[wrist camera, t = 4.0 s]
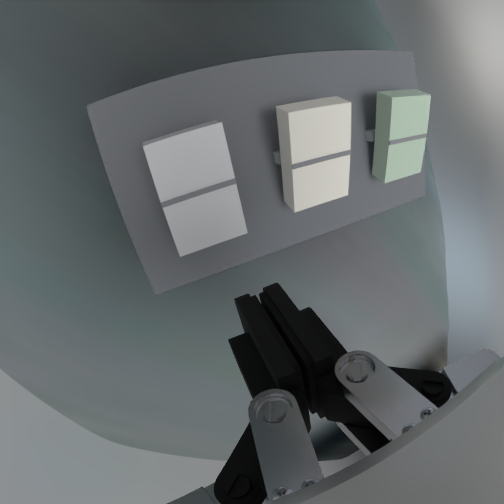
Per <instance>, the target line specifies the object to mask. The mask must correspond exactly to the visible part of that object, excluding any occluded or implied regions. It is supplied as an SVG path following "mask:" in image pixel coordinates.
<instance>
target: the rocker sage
mask: <svg viewBox="0 0 504 504" xmlns="http://www.w3.org/2000/svg"><path fill="white" fill-rule="evenodd" d="M430 99H431V95H430V94H427V93H425V92H422V91H419V90H417V89H407V90H391V91H378V92H377V103H376V126H375V142H374V156H373V167H372V175H374V176H375V177H376V178H378V179H379V180H380V181H382V182H383V183H388V182H391V181H394V180H397V179H400V178H404V177H407V176H410V175H413V174H416V173H420V172H421V167H422V161H423V155H424V149H425V142H426V137H427V127H428V119H429V109H430Z"/></svg>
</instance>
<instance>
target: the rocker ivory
mask: <svg viewBox="0 0 504 504" xmlns="http://www.w3.org/2000/svg"><path fill="white" fill-rule="evenodd" d="M276 113H277V123H278V134H279V145H280V156H281V168H282V180H283V193H284V201H285V202H286V204H287V205H288V206H289V207H290V208H291V209H292V210H293V211H294V213H295V212H298V211H301V210H304V209H307V208H310V207H313V206H316V205H319V204H322V203H325V202H328V201H331V200H335V199H338V198H341V197H344V196H347V195H348V189H349V172H350V154H351V150H350V149H351V102H350V101H347V100H345V99H342V98H340V97H337V96H334V97H326V98H320V99H313V100H307V101H301V102H295V103H290V104H285V105H279V106H276Z"/></svg>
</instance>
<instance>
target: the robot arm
mask: <svg viewBox="0 0 504 504" xmlns="http://www.w3.org/2000/svg"><path fill="white" fill-rule="evenodd" d="M259 296H260V301H261V303H260V302H259V300H258V298H257V297H256V295H254V296H251V297H250V295H249V294H246V295H243V296H240V297H238V298H235V299H234V300H235V304H236V307H237V310H238V313H239V316H240V319H241V323H242V326H243V329H244V332H245V333H244V334H241V335H239V336H236V337H233V338H231V339H228V341H229V343H230V346H231V349H232V351H233V354H234V356H235V359H236V361H237V364H238V366H239V368H240V371H241V373H242V375H243V378H244V380H245V382H246V385H247V387H248V389H249V391H250V394H251V396H252V398H253V400H252V401H251V402H250V405H249V408H248V413H249V419H250V422H249V424H248V426H247V428H246V430H245V431H244V433H243V435H242V437H241V438H240V440H239V442H238V444H237V445H236V447H235V449H234V450H233V452H232V454H231V456H230V457H229V459H228V461H227V462H226V464H225V466H224V467H223V469H222V471H221V472H220V474H219V476H218V477H217V479H216V481H215V483H213V484H211V485H209V486H207V487H205V488H203V487H201V488H199V489H197V490H195V491H193V492H191V493H189V494H187V495H185V496H183V497H180V498H178V499H176V500H174V501H172V502H170V503H167V504H504V356H502V357H501V358H500V357H499V356H498V355H497V354H496V353H495V352H494V351H492V350H490V349H483V350H479V351H477V352H476V353H474V354H472V355H469V356H468V357H465V358H463V359H461V360H459V361H457V362H455V363H452V364H450V365H448V366H446V367H444V368H443V369H442V371H440V372H436V371H428V370H417V369H407V368H397V367H389V366H386V365H385V364H384V363H383V362H382V361H380V360H379V359H378V358H377V357H375V356H374V355H372V354H371V353H369V352H365V351H352V352H349V353H348V352H347V351H346V350H345V349H344V347H343V346H342V345H341V344H340V343H339V341H338V340H337V339H336V338H335V336H334V335H333V334H332V333H331V332H330V330H329V329H328V328H327V327H326V325H325V324H324V323H323V322H322V321H321V319H320V318H319V317H318V316H317V315H316V313H315V312H314V311H313V310H312V309H311V308H309V307H308V308H305V309H303V310H301V311H299V310H298V308H297V307H296V306H295V304H294V303H293V302H292V300H291V299H290V298H289V297H288V295H287V294H286V293H285V291H284V290H283V289H282V287H281V286H280V285H279V284H278V283H274V284H272V285H269V286H267V287H264V288H263V292H262V293H259ZM308 409H309V410H310V412H311V413H312V414H314V413H316V412H317V413H318V415H319V417H320V418H323V417H326V418H327V420H330V421H335V422H336V423H337V425H338V426H339V427H340V428H341V429H342V431H343V432H344V433H345V434H346V435H347V436H348V437H349V438H350V439H351V440H352V441H353V442H354V443H355V444H356V445H357V446H358V447H359V448H360V449H361V450H362V452H363V453H364V454H365V455H366V457H365V458H363V459H361V460H359V461H358V462H356V463H354V464H352V465H350V466H348V467H346V468H344V469H343V470H341V471H339V472H337V473H335V474H333V475H331V476H329V477H327V478H324V477H323V474H322V471H321V468H320V465H319V463H318V460H317V457H316V454H315V451H314V449H313V446H312V443H311V440H310V437H309V432H310V429H311V425H310V417H309V410H308Z"/></svg>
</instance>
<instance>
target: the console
mask: <svg viewBox="0 0 504 504" xmlns="http://www.w3.org/2000/svg"><path fill="white" fill-rule="evenodd" d="M407 89H417V90H419V86H418V80H417V73H416V67H415V61H414V56H413V52H407V51H386V50H341V51H320V52H307V53H295V54H286V55H277V56H270V57H262V58H256V59H249V60H243V61H238V62H232V63H227V64H222V65H217V66H212V67H208V68H203V69H199V70H195V71H191V72H187V73H183V74H179V75H175V76H172V77H168V78H164V79H161V80H158V81H154V82H151V83H148V84H145V85H141V86H138V87H135V88H132V89H129V90H126V91H124V92H121V93H118V94H115V95H113V96H110V97H107V98H105V99H102V100H99V101H97V102H94V103H92V104H89V105H87V106H86V107H87V111H88V114H89V118H90V121H91V125H92V128H93V132H94V135H95V138H96V142H97V145H98V148H99V151H100V154H101V158H102V161H103V164H104V167H105V170H106V173H107V176H108V179H109V181H110V184H111V187H112V190H113V193H114V195H115V198H116V201H117V204H118V206H119V209H120V212H121V214H122V217H123V220H124V222H125V225H126V227H127V230H128V232H129V235H130V237H131V240H132V242H133V245H134V247H135V250H136V252H137V254H138V257H139V259H140V261H141V264H142V266H143V268H144V271H145V273H146V275H147V277H148V280H149V282H150V284H151V286H152V289H153V291H154V293H155V295H158V294H161V293H163V292H166V291H169V290H172V289H175V288H177V287H180V286H183V285H186V284H188V283H191V282H194V281H197V280H199V279H202V278H205V277H208V276H210V275H213V274H216V273H219V272H221V271H224V270H227V269H230V268H232V267H235V266H238V265H241V264H243V263H246V262H249V261H251V260H254V259H257V258H260V257H262V256H265V255H268V254H270V253H273V252H276V251H279V250H281V249H284V248H287V247H289V246H292V245H295V244H298V243H300V242H303V241H306V240H308V239H311V238H314V237H316V236H319V235H322V234H324V233H327V232H330V231H333V230H335V229H338V228H341V227H343V226H346V225H349V224H351V223H354V222H357V221H359V220H362V219H365V218H367V217H370V216H373V215H375V214H378V213H381V212H383V211H386V210H389V209H391V208H394V207H397V206H399V205H402V204H404V203H407V202H410V201H412V200H415V199H418V198H420V197H423V196H426V175H425V149H424V155H423V161H422V167H421V172H420V173H416V174H413V175H410V176H407V177H404V178H400V179H397V180H394V181H391V182H388V183H383V182H382V181H380V180H379V179H378V178H376V177H375V176H374V175H372V167H373V156H374V142H375V126H376V103H377V92H378V91H391V90H407ZM334 96H337V97H340V98H342V99H345V100H347V101H350V102H351V149H350V150H351V154H350V172H349V189H348V195H347V196H344V197H341V198H338V199H335V200H331V201H328V202H325V203H322V204H319V205H316V206H313V207H310V208H307V209H304V210H301V211H298V212H295V213H294V211H293V210H292V209H291V208H290V207H289V206H288V205H287V204H286V202H285V201H284V193H283V180H282V168H281V156H280V145H279V134H278V123H277V113H276V106H279V105H285V104H290V103H295V102H301V101H307V100H313V99H320V98H326V97H334ZM215 120H216V121H220V122H222V124H223V129H224V133H225V137H226V141H227V146H228V150H229V154H230V159H231V163H232V167H233V172H234V176H235V179H236V183H237V184H236V185H237V189H238V193H239V198H240V202H241V206H242V210H243V215H244V219H245V223H246V228H247V232H248V233H247V234H244V235H241V236H238V237H235V238H232V239H230V240H227V241H224V242H221V243H218V244H215V245H213V246H210V247H207V248H204V249H201V250H198V251H196V252H193V253H190V254H187V255H184V256H182V257H180V255H179V253H178V250H177V247H176V245H175V242H174V239H173V236H172V233H171V231H170V228H169V225H168V222H167V219H166V216H165V213H164V211H163V208H162V205H161V202H160V199H159V196H158V193H157V190H156V187H155V184H154V181H153V177H152V174H151V171H150V168H149V165H148V162H147V158H146V155H145V152H144V149H143V142H146V141H149V140H152V139H155V138H158V137H161V136H164V135H167V134H170V133H173V132H176V131H180V130H183V129H186V128H190V127H193V126H196V125H200V124H204V123H207V122H211V121H215Z"/></svg>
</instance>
